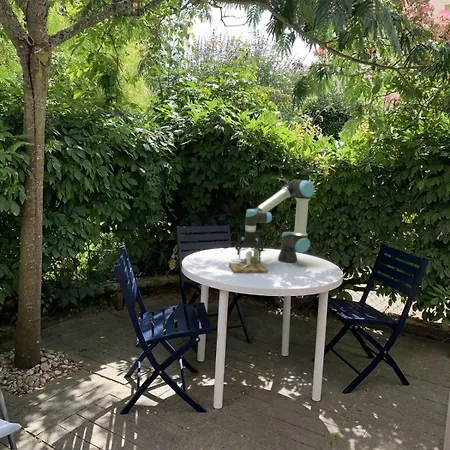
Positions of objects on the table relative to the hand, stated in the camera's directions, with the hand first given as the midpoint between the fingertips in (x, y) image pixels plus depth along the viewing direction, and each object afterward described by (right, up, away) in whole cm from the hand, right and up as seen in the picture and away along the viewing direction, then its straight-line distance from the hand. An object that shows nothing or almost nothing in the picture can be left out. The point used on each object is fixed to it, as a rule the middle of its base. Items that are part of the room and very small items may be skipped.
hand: (248, 259), depth 302 cm
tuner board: (-1, -7, -2) cm, 7 cm away
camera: (+2, -4, +17) cm, 18 cm away
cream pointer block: (-2, -5, -2) cm, 5 cm away
